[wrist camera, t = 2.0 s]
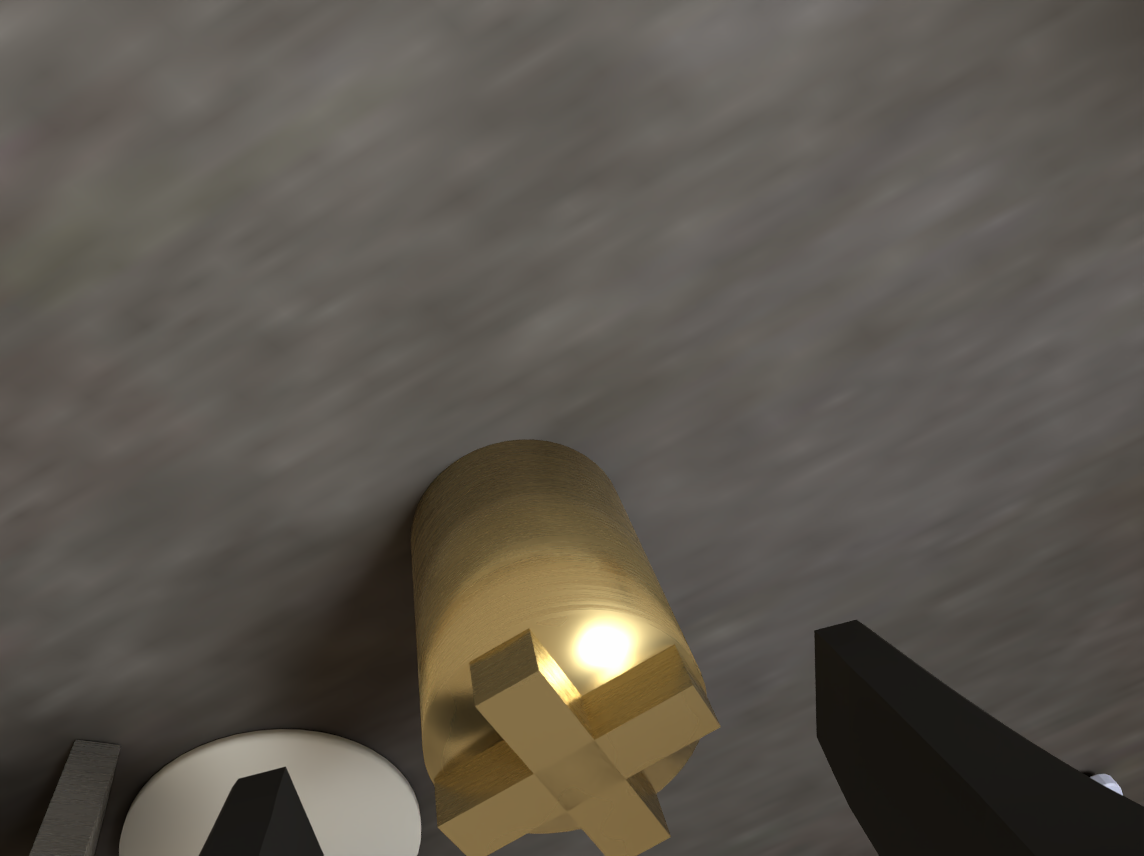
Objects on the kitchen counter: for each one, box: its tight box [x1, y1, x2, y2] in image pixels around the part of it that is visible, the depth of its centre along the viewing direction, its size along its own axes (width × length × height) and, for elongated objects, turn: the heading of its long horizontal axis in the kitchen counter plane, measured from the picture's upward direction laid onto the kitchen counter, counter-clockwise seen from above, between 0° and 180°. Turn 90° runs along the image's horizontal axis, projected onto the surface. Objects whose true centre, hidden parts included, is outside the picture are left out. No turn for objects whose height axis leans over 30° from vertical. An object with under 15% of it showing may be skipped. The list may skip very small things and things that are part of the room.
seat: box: [119, 729, 421, 856], centre depth 19 cm, size 6×6×1 cm
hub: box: [411, 440, 721, 856], centre depth 14 cm, size 4×4×6 cm
